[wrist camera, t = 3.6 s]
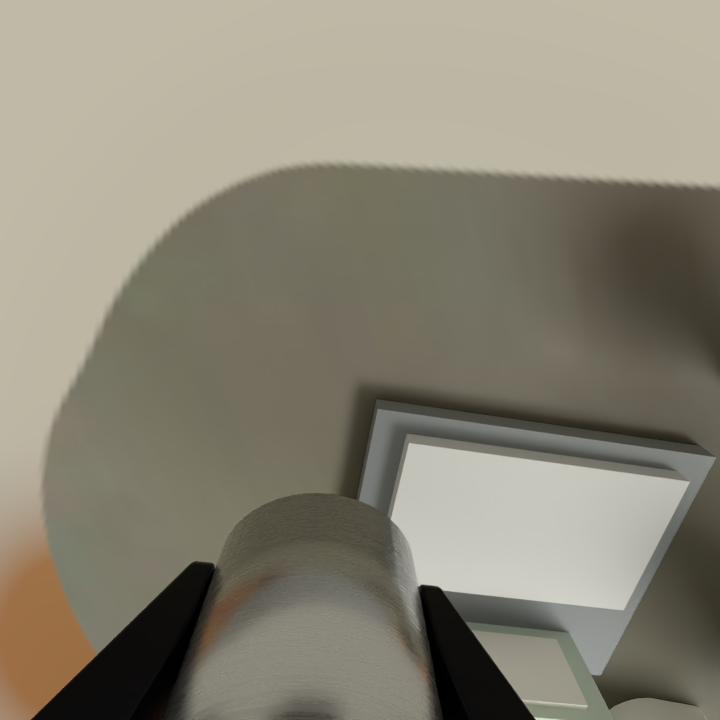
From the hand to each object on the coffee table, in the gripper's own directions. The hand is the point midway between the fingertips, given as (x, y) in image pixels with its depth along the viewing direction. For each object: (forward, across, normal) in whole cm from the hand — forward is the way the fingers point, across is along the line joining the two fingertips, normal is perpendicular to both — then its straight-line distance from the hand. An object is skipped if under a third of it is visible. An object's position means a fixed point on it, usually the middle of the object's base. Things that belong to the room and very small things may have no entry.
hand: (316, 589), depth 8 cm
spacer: (0, 0, 0) cm, 0 cm away
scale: (+11, -10, +9) cm, 17 cm away
